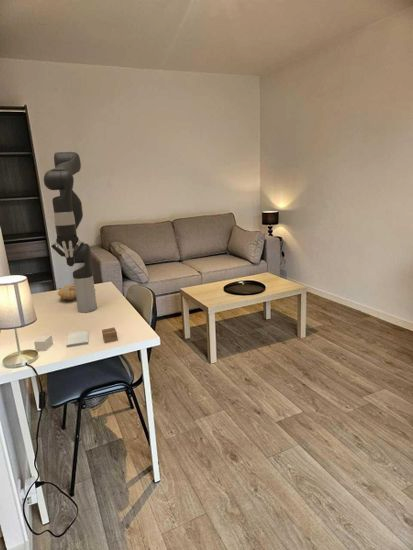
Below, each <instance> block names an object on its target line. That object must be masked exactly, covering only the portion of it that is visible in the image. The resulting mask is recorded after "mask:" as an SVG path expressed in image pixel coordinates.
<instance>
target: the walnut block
mask: <svg viewBox="0 0 413 550" xmlns="http://www.w3.org/2000/svg"><path fill="white" fill-rule="evenodd" d="M101 333H102V340H103V342H104V344H107V343H112V342H117V341H118V340H119V339H118V334H117V333H118V332H117V330H116V328H115V327H108V328H103V329H101Z"/></svg>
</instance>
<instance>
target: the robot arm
mask: <svg viewBox="0 0 413 550" xmlns="http://www.w3.org/2000/svg"><path fill="white" fill-rule="evenodd" d="M53 163H54V168H52V169H49V170H47V171H46V172H45V173H44V176H43V183H44V186H45V187H46V189H48V190H50V191H59V195H58V196H55V197H53V198H52V201H51V202H52V208H53V220H54V227H55V232H56V240H55V241H56V242H54V243H53V244H52V245H51V248H52V249H53V250H54V251H55V252H56V253H57V254H58V255H59V256H60V257H64V258H65V260H66V264H67V266H68V267H73V266H74V265H75V264H83V266H81V267H80V268H78V269H75V270H74V271H73V272H72V279H73V284H74V287H75V294H76V300H75V301H76V309H77V312H78V313H90V312H93V311H96V310H97V309H98V305H97V297H96V288H95V281H94V273H93V266H92V254H91V253H92V252H91V247H90V245H89V244H88V243H85V242H84V241H81V240H80V239H79V236H78V235H77V230H78V227H79V226H80V224H81V222H82V221H83V216H84V213H83V206H82V200H81V199H80V197H79V196H78V195H77V193H76V192H75V191H74V190H73V188H74V183H75V182H74V176H75V175H76V174H77V173H79V172H81V169H82V168H81V167H82V166H81V165H82V164H81V163H82V161H81V159H80V155H79V153H77V152H75V151H58V152H55V153H54V155H53ZM62 249H63V250H62Z"/></svg>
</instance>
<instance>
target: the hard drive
mask: <svg viewBox="0 0 413 550" xmlns="http://www.w3.org/2000/svg"><path fill="white" fill-rule="evenodd" d="M89 338H90V330H88V329H87V330H80V331H72V332H68V334H67V340H66V345H65V346H66V348H72V347H78V346H86V345H89V342H90V341H89V340H90V339H89Z"/></svg>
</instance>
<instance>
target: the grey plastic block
mask: <svg viewBox="0 0 413 550" xmlns="http://www.w3.org/2000/svg"><path fill="white" fill-rule="evenodd" d="M33 344H34V349H35V352H46V351H48V349H49V348H50V347H51V346H53V345H54V341H53V335H52V334H42V335H39V337H38V338H37V339H36V340H34V341H33Z"/></svg>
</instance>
